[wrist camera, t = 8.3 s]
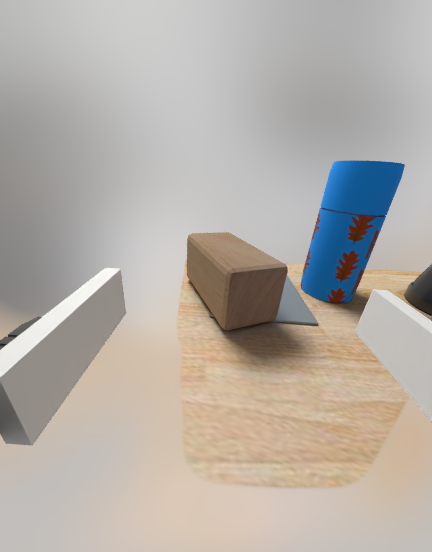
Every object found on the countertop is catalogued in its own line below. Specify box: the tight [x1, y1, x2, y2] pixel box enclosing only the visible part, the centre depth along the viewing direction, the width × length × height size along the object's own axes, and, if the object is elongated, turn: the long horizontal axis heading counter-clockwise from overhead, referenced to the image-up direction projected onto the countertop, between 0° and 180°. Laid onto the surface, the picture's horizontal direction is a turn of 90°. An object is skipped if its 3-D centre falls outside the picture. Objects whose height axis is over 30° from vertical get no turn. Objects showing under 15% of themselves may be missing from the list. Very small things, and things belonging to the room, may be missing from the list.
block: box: [187, 233, 288, 330], centre depth 39 cm, size 10×10×20 cm
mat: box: [210, 276, 318, 325], centre depth 45 cm, size 18×21×1 cm
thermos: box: [301, 161, 405, 303], centre depth 42 cm, size 11×11×25 cm
